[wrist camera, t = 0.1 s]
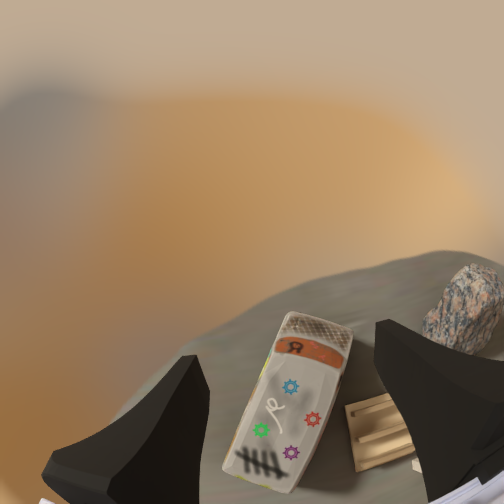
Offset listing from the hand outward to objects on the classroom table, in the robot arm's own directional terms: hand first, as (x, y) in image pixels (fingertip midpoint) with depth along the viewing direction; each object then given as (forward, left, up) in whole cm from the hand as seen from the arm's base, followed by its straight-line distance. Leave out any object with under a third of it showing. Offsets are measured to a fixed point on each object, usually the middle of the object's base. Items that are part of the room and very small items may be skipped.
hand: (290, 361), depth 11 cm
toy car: (-1, 0, -32) cm, 33 cm away
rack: (-9, -12, -32) cm, 35 cm away
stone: (+2, -27, -32) cm, 42 cm away
